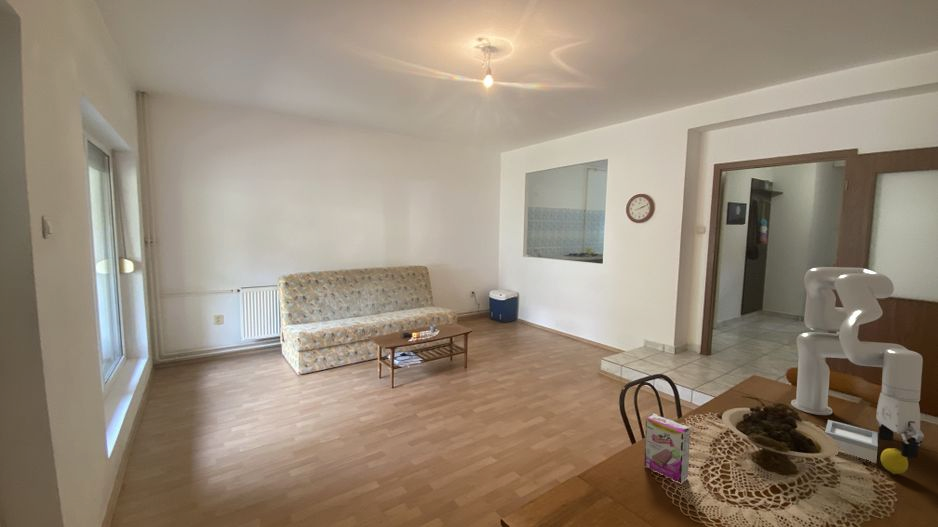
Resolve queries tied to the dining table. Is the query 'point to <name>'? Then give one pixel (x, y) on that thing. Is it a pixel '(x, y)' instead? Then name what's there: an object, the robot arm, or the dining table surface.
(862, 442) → the tray
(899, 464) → the lemon
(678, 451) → the candy bar box
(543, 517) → the dining table surface
